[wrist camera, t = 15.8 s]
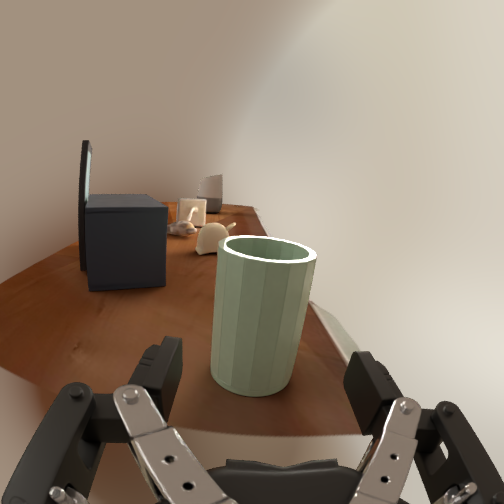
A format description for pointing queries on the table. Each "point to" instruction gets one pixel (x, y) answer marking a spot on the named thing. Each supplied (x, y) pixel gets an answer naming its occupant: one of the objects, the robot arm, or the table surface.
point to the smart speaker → (211, 193)
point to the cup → (258, 312)
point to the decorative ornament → (211, 237)
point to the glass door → (83, 199)
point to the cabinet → (125, 241)
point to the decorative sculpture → (188, 216)
